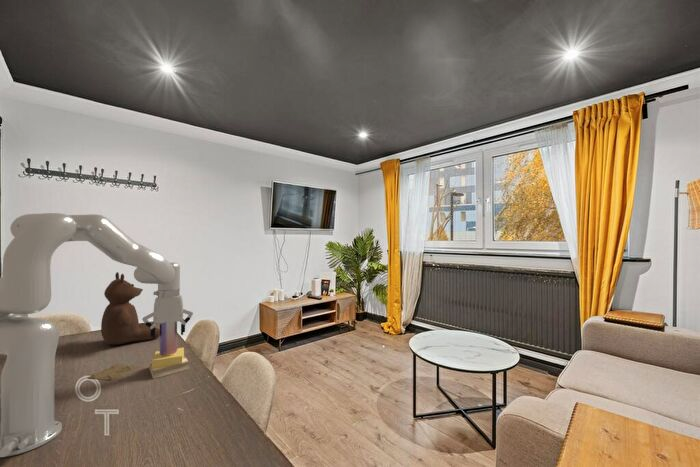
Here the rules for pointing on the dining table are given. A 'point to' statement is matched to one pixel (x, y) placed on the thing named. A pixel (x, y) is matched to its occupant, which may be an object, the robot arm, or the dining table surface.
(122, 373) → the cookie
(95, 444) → the dining table surface
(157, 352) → the tower top
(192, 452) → the dining table surface
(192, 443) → the dining table surface
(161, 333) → the beverage can
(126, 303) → the stuffed bear
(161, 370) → the tower base
